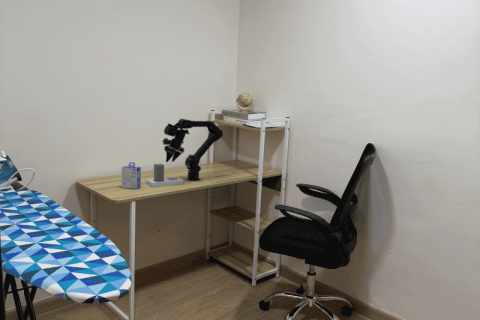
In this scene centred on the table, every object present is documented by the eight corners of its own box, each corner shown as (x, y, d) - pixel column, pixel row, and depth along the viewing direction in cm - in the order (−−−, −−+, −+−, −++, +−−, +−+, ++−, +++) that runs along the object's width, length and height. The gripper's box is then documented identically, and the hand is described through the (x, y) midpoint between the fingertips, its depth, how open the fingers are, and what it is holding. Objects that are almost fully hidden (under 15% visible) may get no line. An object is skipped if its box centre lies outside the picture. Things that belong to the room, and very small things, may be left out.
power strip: (176, 180, 261) (176, 175, 260) (183, 183, 254) (183, 178, 253) (146, 183, 250) (146, 178, 249) (152, 187, 243) (152, 182, 242)
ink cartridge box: (141, 187, 242) (141, 162, 239) (137, 189, 237) (137, 164, 234) (125, 185, 244) (125, 161, 241) (121, 187, 238) (120, 163, 236)
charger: (160, 182, 253) (161, 163, 250) (163, 184, 249) (164, 164, 247) (153, 183, 250) (154, 163, 248) (156, 185, 247) (156, 165, 244)
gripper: (173, 133, 265) (164, 156, 267) (161, 132, 247) (152, 156, 249) (188, 140, 263) (179, 163, 265) (177, 140, 245) (167, 164, 247)
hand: (169, 161), depth 257 cm, fingers open, 9 cm apart
